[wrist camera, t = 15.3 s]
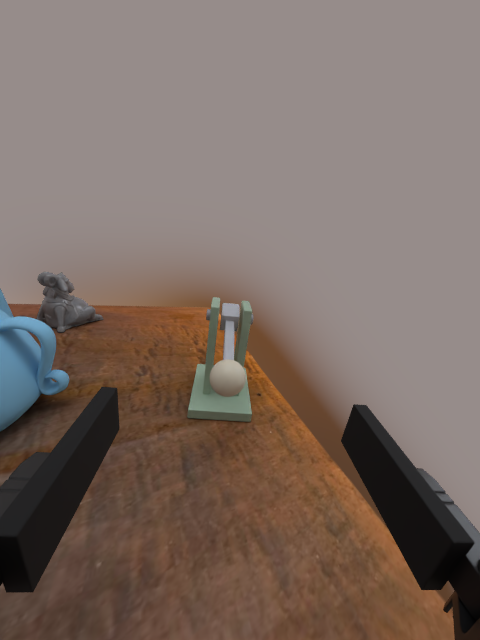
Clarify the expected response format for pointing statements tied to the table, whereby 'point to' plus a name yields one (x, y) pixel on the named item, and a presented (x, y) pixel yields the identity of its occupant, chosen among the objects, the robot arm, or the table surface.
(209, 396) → the green lever stand
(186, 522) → the table surface
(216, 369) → the knob lever
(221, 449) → the table surface
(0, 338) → the teapot
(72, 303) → the figurine
